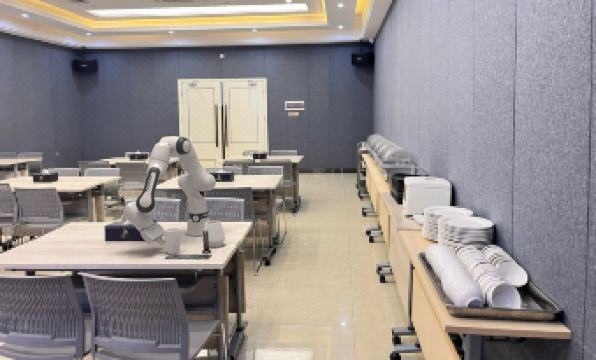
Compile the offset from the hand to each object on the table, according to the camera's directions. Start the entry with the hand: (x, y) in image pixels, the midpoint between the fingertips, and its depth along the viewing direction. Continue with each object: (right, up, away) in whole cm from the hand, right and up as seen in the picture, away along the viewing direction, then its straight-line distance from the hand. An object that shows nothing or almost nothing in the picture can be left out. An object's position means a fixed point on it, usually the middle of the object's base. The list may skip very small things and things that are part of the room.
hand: (164, 243), depth 291 cm
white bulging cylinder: (+26, -3, +13) cm, 29 cm away
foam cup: (+5, -5, 0) cm, 7 cm away
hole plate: (+16, -6, -11) cm, 20 cm away
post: (+24, -4, -2) cm, 25 cm away
